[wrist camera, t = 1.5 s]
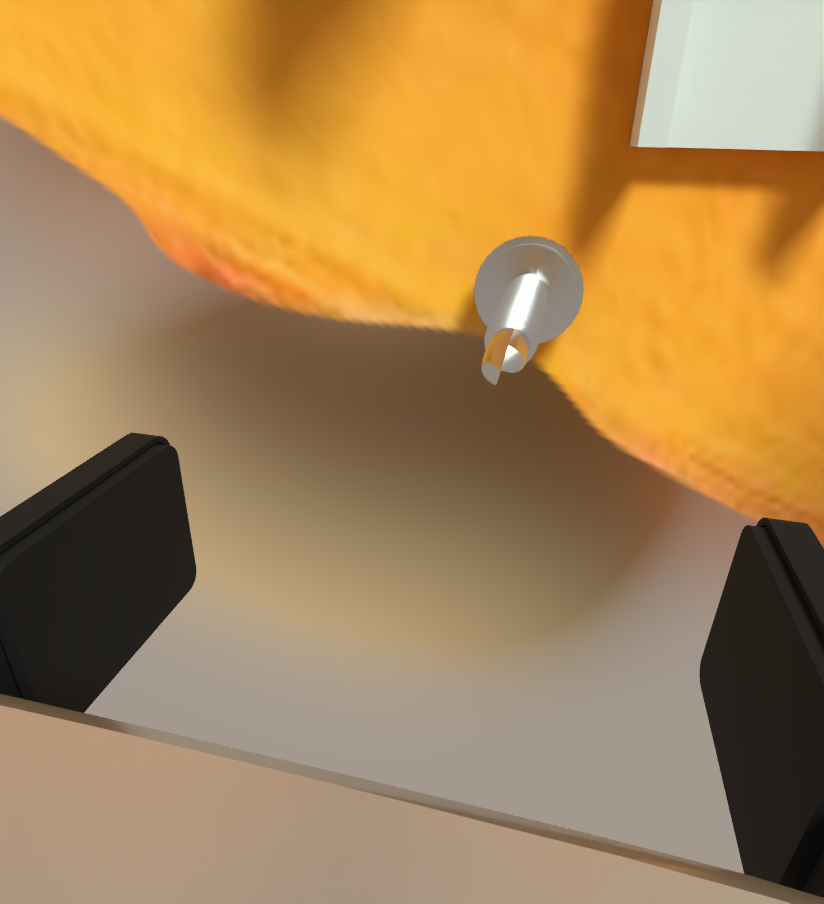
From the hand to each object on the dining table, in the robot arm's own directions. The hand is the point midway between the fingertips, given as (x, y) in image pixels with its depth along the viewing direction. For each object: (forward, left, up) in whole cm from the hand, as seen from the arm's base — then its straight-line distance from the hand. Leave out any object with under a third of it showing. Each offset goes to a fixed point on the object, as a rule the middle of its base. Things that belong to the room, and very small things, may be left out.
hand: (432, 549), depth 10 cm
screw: (0, 0, -23) cm, 23 cm away
